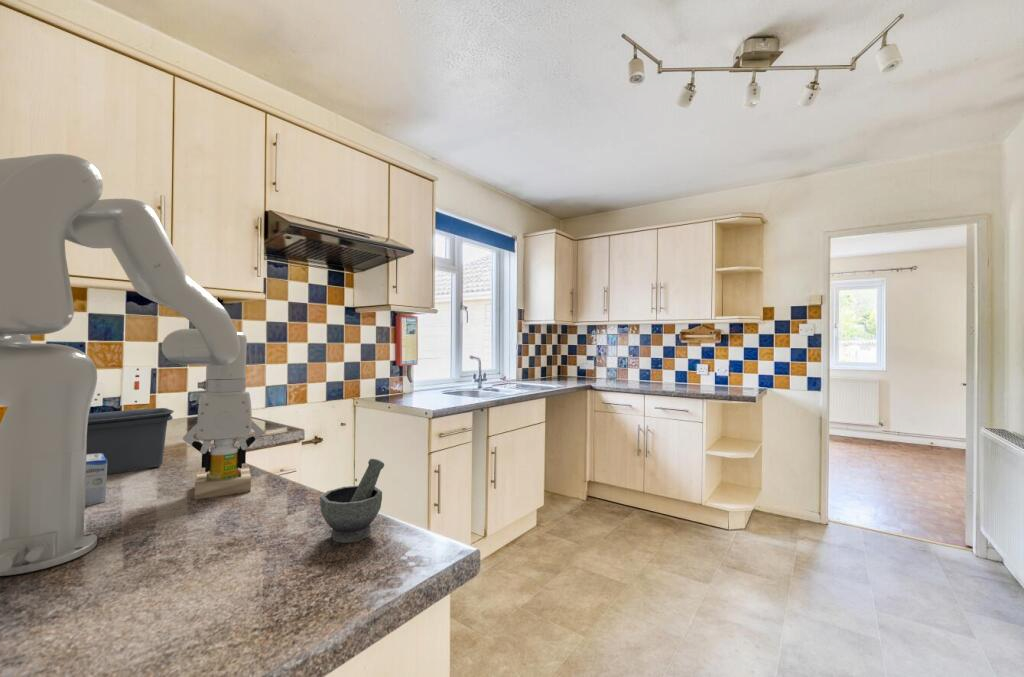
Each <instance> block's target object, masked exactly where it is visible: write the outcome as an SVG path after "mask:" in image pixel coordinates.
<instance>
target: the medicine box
mask: <svg viewBox="0 0 1024 677" xmlns="http://www.w3.org/2000/svg"><path fill="white" fill-rule="evenodd" d="M107 476H108V475H107V460H106V459H105V457H104V455H103V454H102V453H101V454H87V455H86V484H85V507H86V506H92V505H97V503H98V504H102V503H105V502H106V499H107V498H106V497H107Z"/></svg>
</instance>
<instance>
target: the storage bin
mask: <svg viewBox="0 0 1024 677" xmlns="http://www.w3.org/2000/svg"><path fill="white" fill-rule="evenodd" d="M174 412H175V411H174V410H172V409H169V408H167V407H157V408H156V407H155V408H153V407H152V408H139V409H129V410H127V409H126V410H117V411H115V410H114V411H103V412H94V413H93V412H92V413H90V412H89V416H88V425H87V454H101V453H102V454H103V455H104V457H105V459H106V460H107V476H110V475H114V474H115V475H116V474H121V473H122V474H123V473H127V472H133V471H138V470H145V469H151V468H157V467H160V466H162V465H163V460H164V455H165V454H164V453H165V445H166V435H167V427H168V421H171V420H173V415H172V414H173V413H174ZM87 454H86V455H87ZM109 474H110V475H109Z"/></svg>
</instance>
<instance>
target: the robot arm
mask: <svg viewBox="0 0 1024 677" xmlns="http://www.w3.org/2000/svg"><path fill="white" fill-rule="evenodd" d="M103 181H104V180H103V178H102V175H101V173H100V171H99V170H98V168H97V167H96V166H95V165H94V164H92V162H90V161H89V160H87V159H84V158H82V157H79V156H77V155H74V154H67V153H47V154H46V153H45V154H37V155H27V156H18V157H9V158H2V159H0V406H1V407H7V408H6V411H5V412H4V415H3V417H2V419H1V421H0V577H5V576H13V575H19V574H20V575H22V574H27V573H32V572H35V571H36V572H37V571H40V570H44V569H49V568H52V567H55V566H58V565H61V564H65V563H67V562H69V561H70V562H71V561H72V560H75V559H77V558H79V557H81V556H84V555H85V554H87V553H89V552H91V551H92V550H93V549H94V548H95V547H96V546H97V544H98V543H97V542H98V536H97V535H96V534H94V533H92V532H88V531H85V513H86V512H85V511H86V509H85V508H86V506H85V484H86V454H87V425H88V416H89V414H90V410H91V405H92V402H93V398H94V395H95V392H96V391H95V390H96V387H97V383H98V371H97V366H96V364H95V363H94V361H93V360H92V358H91V357H90V356H89V355H88V354H87V353H85V352H84V351H82V350H80V349H78V348H76V347H72V346H69V345H65V344H61V343H60V344H58V343H40V342H39V343H32V338H31V336H37V335H38V336H39V335H40V336H41V335H49V334H53V333H57V332H59V331H63V329H65V328H66V327H67V326H69V325H70V324H71V322H72V320H73V317H74V314H75V312H74V311H75V307H74V297H73V291H72V285H71V280H70V274H69V267H68V263H67V254H66V241H68V242H70V243H73V244H76V245H78V246H82V247H86V248H90V249H110V250H111V251H112V253H113V254H114V256H115V257H116V259H117V261H118V263H119V264H120V266H121V267H122V270H123V271H124V273H125V274H126V277H127V279H128V280H129V282H130V283H131V285H132V287H133V288H134V290H135V292H136V293H138V294H139V295H140V296H142V297H143V298H146V299H148V300H150V301H152V302H154V303H156V304H159V305H161V306H163V307H166V308H167V309H171V310H173V311H175V312H176V313H178V314H180V315H181V316H183V317H184V318H185V319H186V320H188V321H189V322H190V323H191V324H192V325H193V326H194V327H195V328H181V329H177V330H174V331H171V332H170V333H169V334H167V335H166V336H165V337H164V339H163V341H162V343H161V351H162V353H163V355H164V357H165V358H166V359H167V360H169V361H170V362H172V363H174V364H177V365H182V366H205V367H206V368H205V380H204V381H197V389H202V390H204V391H205V392H204V393H201V394H200V397H199V402H198V409H197V416H196V417H197V418H196V423H195V425H194V426H192V428H191V429H189V430H188V432H187V433H185V435H183V437H182V440H183V441H184V442H185V443H187V444H188V445H190V446H192V447H193V448H194V449H195V450H197V451H198V452H199V453H200V454H201V469H204V472H209V464H210V449H209V447H210V444H211V443H212V442H214V440H225V439H235V440H237V441H238V443H239V447H238V468H239V469H240V468H243V464H246V461H247V458H246V455H247V454H246V452H247V449H248V448H249V447H250V446H251V445H252V444H253V443H254V442H255V441H256V440H258V439H259V438H260V437H261V436H263V435H264V430H263V429H262V428H261V427H260V426H259V425H258V424H257V423H256V422H255V421H253V420H252V419H253V418H252V417H253V416H252V414H253V413H252V401H251V400H252V399H251V395H250V392H249V391H246V387H247V386H246V385H247V383H246V382H247V378H246V377H247V344H248V342H247V335H246V334H245V333H244V332H241V331H237V329H236V327H235V324H234V322H233V320H232V318H231V316H230V314H229V312H228V311H227V310H226V309H225V307H224V306H223V305H222V304H221V303H220V302H219V301H218V300H217V299H216V298H215V297H214V296H212V295H211V294H210V292H208V291H207V290H206V289H205V288H203V287H202V286H200V285H199V284H198V283H197V282H196V281H194V280H193V279H192V278H191V277H190V276H189V275H188V274H187V272H186V270H185V268H184V267H183V264H182V262H181V260H180V259H179V257H178V255H177V253H176V251H175V249H174V246H173V245H172V243H171V241H170V238H169V236H168V234H167V233H166V231H165V228H164V227H163V225H162V223H161V220H160V219H159V216H158V215H157V214H156V212H155V210H153V208H152V207H151V206H150V205H148V204H147V203H145V202H143V201H140V200H136V199H132V198H104V199H103V198H102V199H101V197H102V194H103V190H104V182H103ZM252 431H254V432H253V433H252ZM251 434H252V435H251ZM195 435H196V438H197V439H198V440H197V439H195V438H194V436H195ZM245 438H246V439H245ZM201 441H203V442H201Z"/></svg>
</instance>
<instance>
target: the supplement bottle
mask: <svg viewBox="0 0 1024 677" xmlns="http://www.w3.org/2000/svg"><path fill="white" fill-rule="evenodd" d="M235 443H236V439H225V440H213V447H212V448H211V449H209V452H210V464H209V471H208V472H209V481H211V480H219V479H228V478H236V477H238V449H239V447H238V446H237V445H235Z"/></svg>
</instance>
